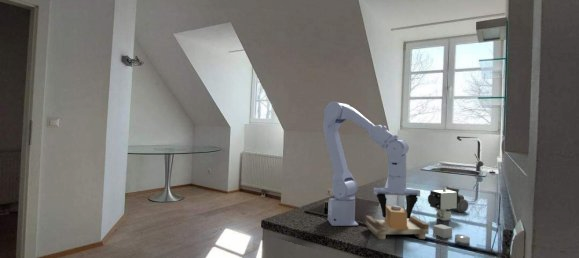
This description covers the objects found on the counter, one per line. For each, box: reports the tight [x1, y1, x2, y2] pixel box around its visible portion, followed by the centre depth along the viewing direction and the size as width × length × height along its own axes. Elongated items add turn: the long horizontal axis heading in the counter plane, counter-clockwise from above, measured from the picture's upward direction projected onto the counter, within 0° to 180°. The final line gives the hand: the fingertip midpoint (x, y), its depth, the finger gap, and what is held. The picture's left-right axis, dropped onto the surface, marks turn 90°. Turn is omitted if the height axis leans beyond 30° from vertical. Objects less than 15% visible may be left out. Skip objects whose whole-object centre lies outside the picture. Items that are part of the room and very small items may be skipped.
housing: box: [384, 205, 408, 230], centre depth 103 cm, size 5×10×6 cm, turn 174°
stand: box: [365, 215, 430, 240], centre depth 103 cm, size 17×10×4 cm, turn 95°
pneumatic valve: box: [427, 187, 460, 222], centre depth 121 cm, size 6×12×12 cm, turn 108°
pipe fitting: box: [446, 185, 469, 214], centre depth 136 cm, size 12×8×10 cm
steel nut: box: [454, 233, 471, 246], centre depth 95 cm, size 4×4×2 cm
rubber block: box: [432, 223, 453, 239], centre depth 102 cm, size 4×4×3 cm
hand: (396, 217), depth 103 cm, fingers open, 7 cm apart
